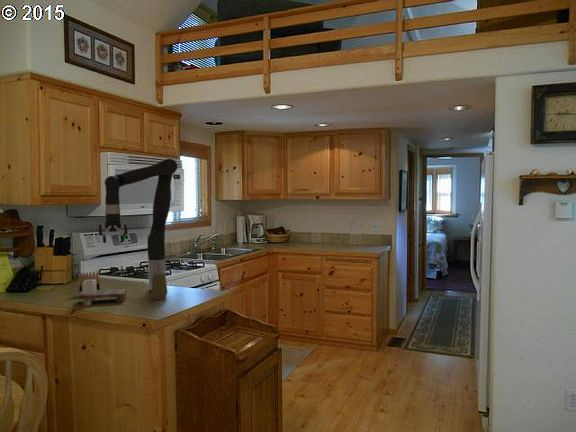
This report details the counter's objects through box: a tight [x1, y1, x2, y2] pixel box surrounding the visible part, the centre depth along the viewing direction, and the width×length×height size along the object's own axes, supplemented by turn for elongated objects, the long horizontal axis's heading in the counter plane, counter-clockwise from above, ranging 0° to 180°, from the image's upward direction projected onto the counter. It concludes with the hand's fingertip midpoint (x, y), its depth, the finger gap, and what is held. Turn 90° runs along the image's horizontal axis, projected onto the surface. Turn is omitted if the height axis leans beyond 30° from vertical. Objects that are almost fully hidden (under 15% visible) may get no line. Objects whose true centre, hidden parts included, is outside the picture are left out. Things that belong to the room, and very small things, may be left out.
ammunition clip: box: [78, 270, 101, 294], centre depth 239 cm, size 11×2×12 cm, turn 129°
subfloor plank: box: [75, 288, 127, 307], centre depth 221 cm, size 22×16×5 cm
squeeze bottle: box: [150, 264, 168, 301], centre depth 224 cm, size 8×8×18 cm
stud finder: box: [82, 278, 97, 295], centre depth 219 cm, size 5×9×6 cm, turn 15°
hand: (113, 242), depth 236 cm, fingers open, 8 cm apart
